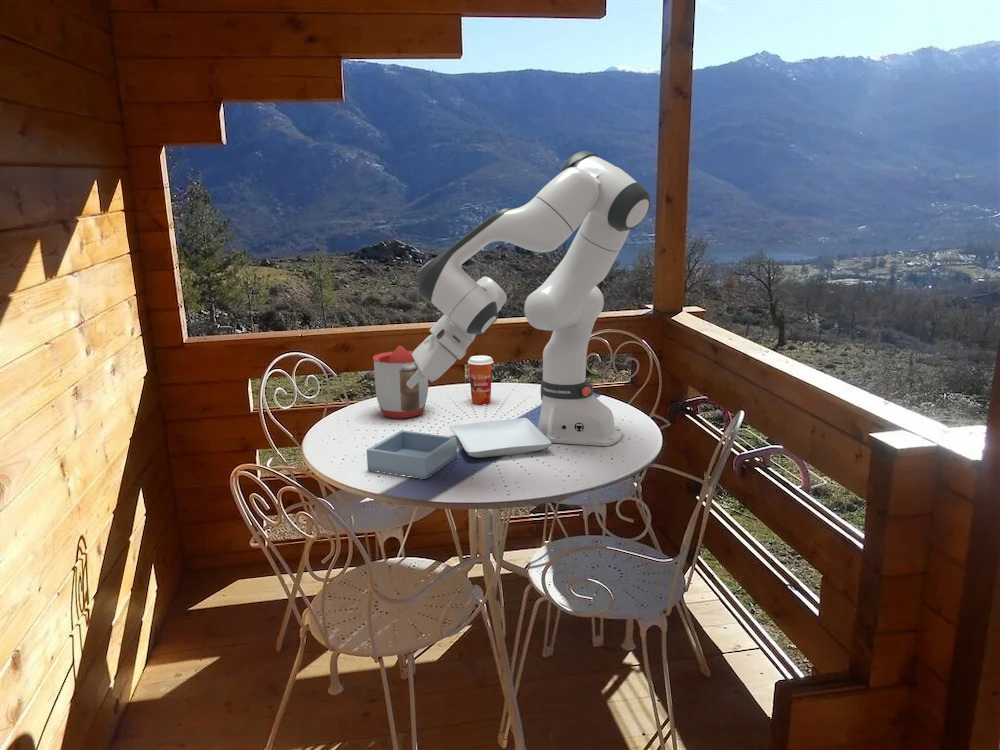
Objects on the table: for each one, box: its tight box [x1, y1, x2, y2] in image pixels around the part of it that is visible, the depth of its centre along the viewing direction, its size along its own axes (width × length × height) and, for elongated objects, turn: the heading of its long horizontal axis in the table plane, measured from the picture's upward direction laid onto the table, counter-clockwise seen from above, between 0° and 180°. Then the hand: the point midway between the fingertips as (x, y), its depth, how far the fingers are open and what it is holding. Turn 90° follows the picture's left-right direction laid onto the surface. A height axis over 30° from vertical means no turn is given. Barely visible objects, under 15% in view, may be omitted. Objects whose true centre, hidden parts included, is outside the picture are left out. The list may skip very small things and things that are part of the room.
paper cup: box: [467, 355, 495, 406], centre depth 206 cm, size 8×8×14 cm
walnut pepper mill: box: [399, 364, 420, 411], centre depth 153 cm, size 4×4×10 cm
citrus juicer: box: [372, 345, 429, 420], centre depth 195 cm, size 16×17×20 cm
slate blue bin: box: [366, 429, 458, 480], centre depth 157 cm, size 15×15×5 cm
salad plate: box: [449, 417, 552, 458], centre depth 170 cm, size 21×21×3 cm
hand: (406, 383), depth 153 cm, fingers closed on walnut pepper mill, 4 cm apart
